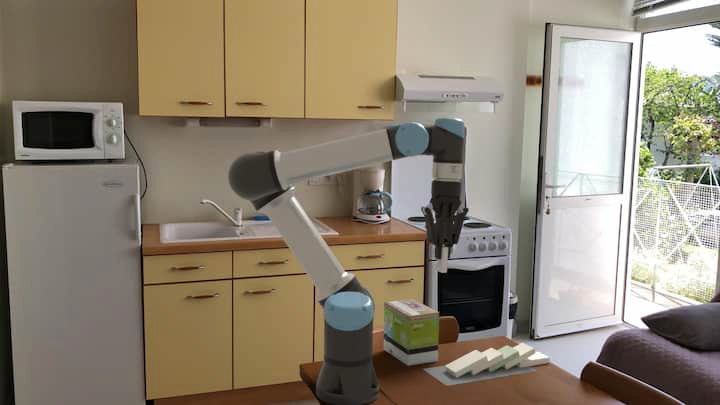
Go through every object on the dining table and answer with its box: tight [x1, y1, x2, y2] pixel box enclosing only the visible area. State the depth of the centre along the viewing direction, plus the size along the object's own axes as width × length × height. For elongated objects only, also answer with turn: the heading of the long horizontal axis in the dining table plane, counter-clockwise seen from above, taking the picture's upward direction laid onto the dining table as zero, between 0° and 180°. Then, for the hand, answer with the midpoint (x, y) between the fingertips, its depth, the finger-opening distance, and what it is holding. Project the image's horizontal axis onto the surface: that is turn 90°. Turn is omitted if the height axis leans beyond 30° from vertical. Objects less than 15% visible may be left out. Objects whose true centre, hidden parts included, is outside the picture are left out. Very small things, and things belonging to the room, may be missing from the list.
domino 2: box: [469, 347, 504, 375], centre depth 159 cm, size 2×5×10 cm
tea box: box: [383, 298, 440, 366], centre depth 169 cm, size 15×10×15 cm
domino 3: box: [501, 342, 536, 370], centre depth 163 cm, size 2×5×10 cm
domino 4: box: [516, 351, 551, 368], centre depth 165 cm, size 2×5×10 cm
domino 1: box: [444, 349, 488, 378], centre depth 157 cm, size 2×5×10 cm
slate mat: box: [422, 365, 538, 387], centre depth 159 cm, size 28×12×1 cm, turn 113°
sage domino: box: [485, 344, 520, 372], centre depth 161 cm, size 2×5×10 cm
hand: (441, 271), depth 153 cm, fingers closed
